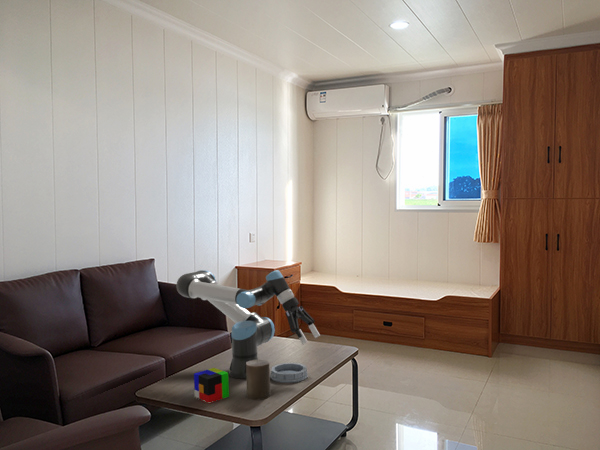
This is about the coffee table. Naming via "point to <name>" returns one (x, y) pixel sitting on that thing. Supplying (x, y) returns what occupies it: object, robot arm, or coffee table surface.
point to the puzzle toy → (211, 384)
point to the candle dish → (289, 372)
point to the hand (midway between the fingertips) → (311, 340)
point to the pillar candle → (258, 379)
